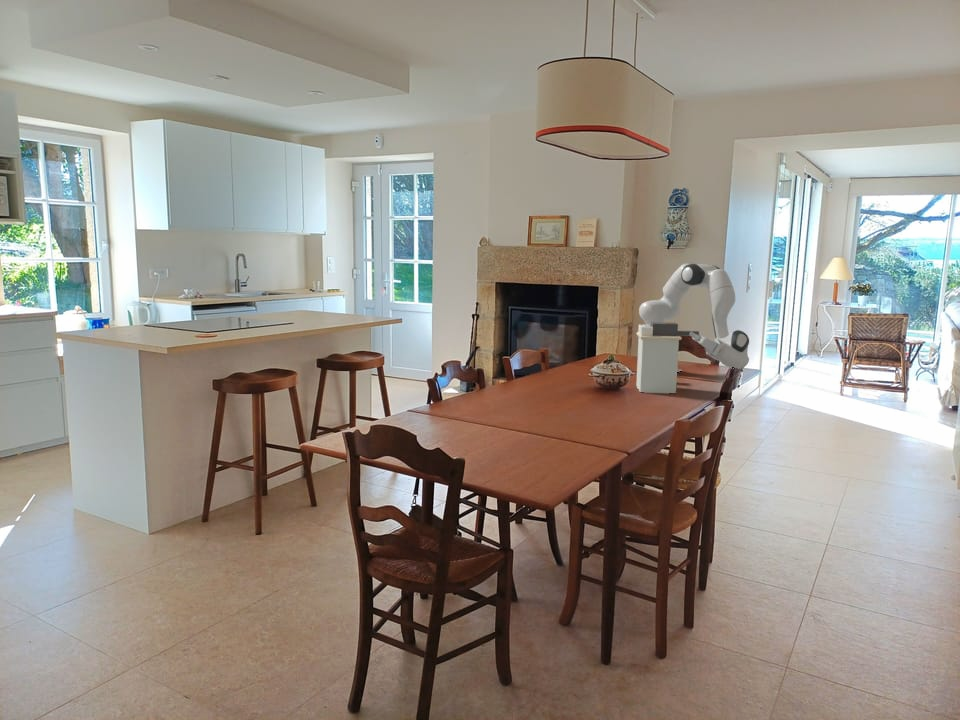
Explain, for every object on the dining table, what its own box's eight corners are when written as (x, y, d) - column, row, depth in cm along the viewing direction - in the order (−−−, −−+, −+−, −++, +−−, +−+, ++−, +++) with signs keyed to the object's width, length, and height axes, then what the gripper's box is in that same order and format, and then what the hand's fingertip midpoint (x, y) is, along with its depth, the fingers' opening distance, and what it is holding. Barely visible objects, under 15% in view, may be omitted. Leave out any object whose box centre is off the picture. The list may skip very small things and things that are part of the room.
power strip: (649, 333, 322) (649, 324, 322) (652, 336, 311) (652, 327, 310) (638, 332, 323) (638, 324, 322) (641, 335, 311) (641, 326, 311)
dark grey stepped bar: (696, 334, 318) (697, 323, 317) (699, 336, 311) (700, 324, 310) (644, 333, 320) (645, 322, 319) (646, 335, 313) (647, 323, 313)
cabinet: (671, 386, 328) (674, 333, 324) (678, 394, 311) (681, 337, 306) (633, 385, 330) (636, 332, 326) (638, 392, 312) (641, 336, 308)
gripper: (713, 339, 324) (688, 324, 324) (723, 345, 304) (697, 329, 304) (705, 350, 325) (681, 335, 325) (715, 356, 305) (689, 341, 305)
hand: (688, 332), depth 315 cm, fingers closed on dark grey stepped bar, 2 cm apart
